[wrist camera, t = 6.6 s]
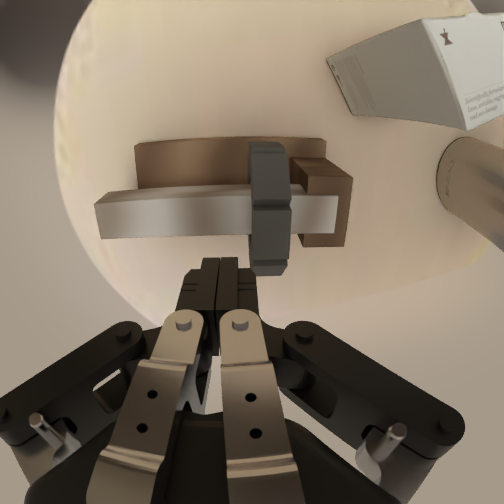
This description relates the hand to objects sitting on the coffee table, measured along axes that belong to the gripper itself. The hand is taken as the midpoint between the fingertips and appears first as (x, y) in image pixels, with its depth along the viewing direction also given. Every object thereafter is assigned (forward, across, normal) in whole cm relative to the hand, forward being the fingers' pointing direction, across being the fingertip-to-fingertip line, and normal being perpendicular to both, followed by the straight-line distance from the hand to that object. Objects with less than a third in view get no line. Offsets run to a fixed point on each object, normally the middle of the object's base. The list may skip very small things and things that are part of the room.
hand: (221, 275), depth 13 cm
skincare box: (+15, -13, -11) cm, 23 cm away
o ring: (+12, -2, 0) cm, 12 cm away
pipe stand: (+15, 0, 0) cm, 15 cm away
